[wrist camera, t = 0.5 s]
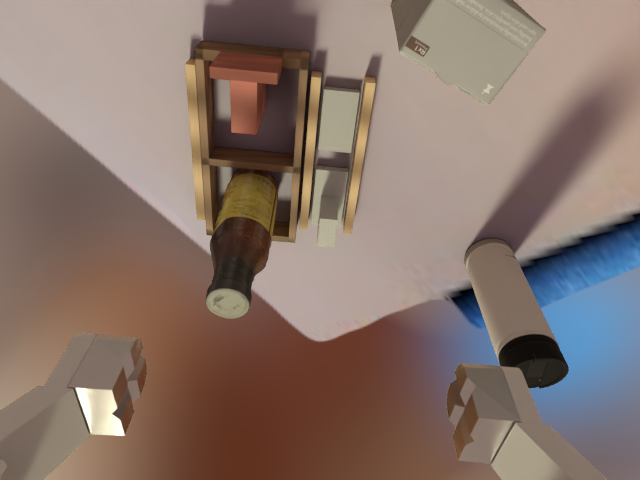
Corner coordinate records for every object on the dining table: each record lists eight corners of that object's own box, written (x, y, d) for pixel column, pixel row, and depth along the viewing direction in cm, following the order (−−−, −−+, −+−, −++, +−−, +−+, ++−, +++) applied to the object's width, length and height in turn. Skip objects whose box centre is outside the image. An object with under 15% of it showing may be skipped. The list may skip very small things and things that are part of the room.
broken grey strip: (324, 86, 51) (322, 106, 46) (359, 89, 51) (361, 110, 46) (311, 220, 61) (309, 248, 56) (340, 223, 61) (340, 251, 56)
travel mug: (515, 233, 61) (578, 355, 45) (508, 272, 65) (564, 397, 49) (466, 236, 62) (511, 358, 46) (462, 274, 66) (502, 399, 50)
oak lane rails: (189, 58, 49) (185, 64, 48) (374, 77, 50) (375, 83, 48) (200, 210, 61) (197, 219, 59) (351, 224, 61) (351, 233, 60)
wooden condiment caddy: (201, 40, 48) (180, 63, 41) (309, 51, 48) (305, 76, 42) (211, 221, 61) (197, 260, 55) (296, 228, 61) (291, 268, 55)
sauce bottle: (221, 170, 57) (177, 279, 41) (271, 160, 56) (245, 267, 40) (239, 214, 61) (205, 330, 45) (286, 205, 60) (268, 320, 44)
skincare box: (498, -16, 44) (562, 23, 32) (451, 54, 48) (492, 112, 36) (423, -66, 42) (461, -47, 30) (380, 11, 46) (397, 57, 33)
